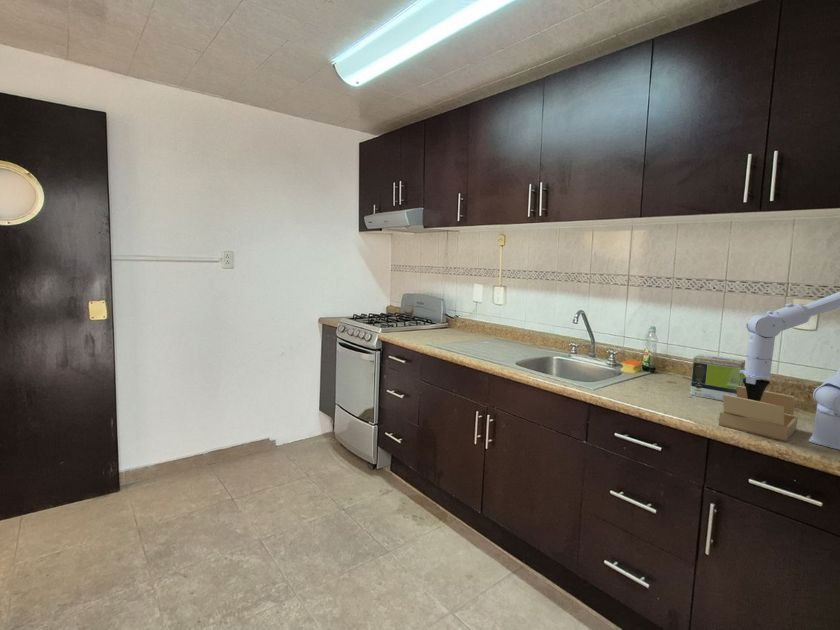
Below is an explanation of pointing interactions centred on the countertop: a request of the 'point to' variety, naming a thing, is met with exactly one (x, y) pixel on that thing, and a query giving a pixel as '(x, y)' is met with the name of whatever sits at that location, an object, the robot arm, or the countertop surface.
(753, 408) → the flap
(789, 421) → the carton
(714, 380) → the tea box
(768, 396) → the flap
